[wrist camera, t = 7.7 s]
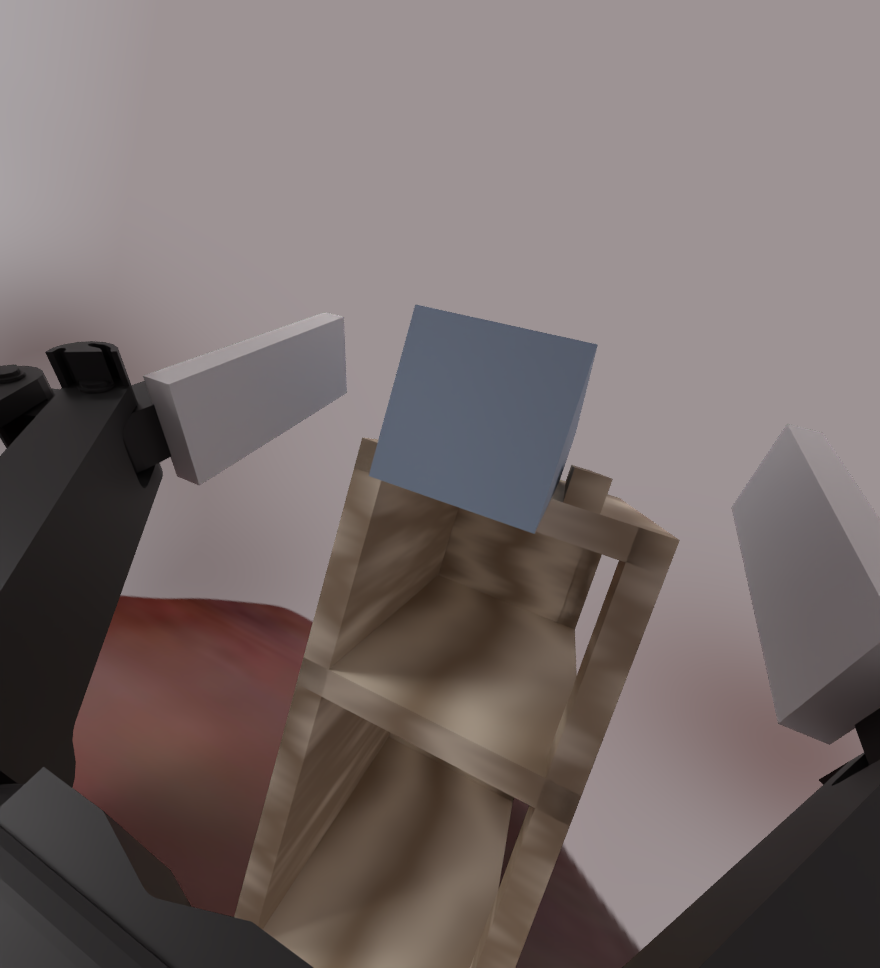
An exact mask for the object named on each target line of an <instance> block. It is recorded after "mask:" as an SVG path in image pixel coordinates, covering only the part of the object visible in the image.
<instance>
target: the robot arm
mask: <svg viewBox="0 0 880 968" xmlns="http://www.w3.org/2000/svg"><path fill="white" fill-rule="evenodd" d="M46 355H47V357H48V359H49V361H50V363H51V365H52V367H53V369H54V372H55V374H56V376H57V378H58V380H59V382H60V384H61V387H62V388H61V389H60V390H59V389H51V387H50V385H49V383H48V381H47V379H46V377H45V375H44V373H43V371H42V370H40V369H38V368H36V367H30V366H17V365H7V366H0V438H1V440H2V441H3V443H4V445H5V446H6V448H7V449H6V450H5V451H4V452H3V453H2V455H1V456H0V968H313V967H312V966H311V965H309V964H308V963H307V962H305V961H304V960H303V959H301V958H300V957H299V956H297V955H296V954H295V953H293V952H292V951H291V950H289V949H288V948H287V947H285V946H284V945H283V944H281V943H280V942H279V941H277V940H276V939H275V938H273V937H272V936H270V935H269V934H268V933H266V932H265V931H264V930H262V929H261V928H260V927H258V926H257V925H256V924H254V923H253V922H251V921H247V920H243V919H239V918H235V917H231V916H227V915H222V914H218V913H214V912H210V911H206V910H202V909H198V908H194V907H191V905H190V903H189V902H188V900H187V898H186V896H185V895H184V893H183V891H182V889H181V888H180V886H179V884H178V882H177V881H176V879H175V877H174V875H173V874H172V872H171V870H169V869H168V868H167V867H166V866H165V865H164V864H163V863H161V862H160V861H159V860H158V859H157V858H156V857H155V856H154V855H152V854H151V853H150V852H149V851H148V850H147V849H146V848H144V847H143V846H142V845H141V844H140V843H139V842H138V841H137V840H135V839H134V838H133V837H132V836H131V835H130V834H129V833H127V832H126V831H125V830H124V829H123V828H122V827H121V826H120V825H118V824H117V823H116V822H115V821H114V820H113V819H112V818H110V817H109V816H108V815H107V814H106V813H105V812H104V811H102V810H101V809H100V808H98V807H97V806H96V805H94V804H93V803H92V802H90V801H89V800H88V799H86V798H85V797H84V796H82V795H81V794H80V793H78V792H77V791H76V790H74V789H73V788H72V787H73V782H74V778H75V763H76V761H75V755H74V748H73V742H72V738H73V729H74V725H75V721H76V718H77V715H78V712H79V710H80V707H81V704H82V701H83V698H84V695H85V693H86V690H87V687H88V684H89V681H90V679H91V676H92V673H93V670H94V667H95V665H96V662H97V659H98V656H99V653H100V651H101V648H102V645H103V642H104V639H105V637H106V634H107V631H108V628H109V625H110V623H111V620H112V617H113V614H114V611H115V608H116V606H117V603H118V600H119V597H120V594H121V592H122V589H123V586H124V583H125V580H126V578H127V575H128V572H129V569H130V566H131V564H132V561H133V558H134V555H135V552H136V550H137V547H138V544H139V541H140V538H141V535H142V533H143V530H144V527H145V524H146V521H147V518H148V516H149V513H150V510H151V507H152V504H153V502H154V499H155V496H156V493H157V491H158V488H159V485H160V482H161V479H162V476H163V472H162V468H161V466H160V464H159V463H160V462H161V461H163V460H165V459H167V458H169V457H171V459H172V462H173V465H174V468H175V471H176V474H177V476H178V477H180V478H183V479H185V480H188V481H190V482H193V483H195V484H197V485H201V484H203V483H204V482H206V481H207V480H209V479H210V478H212V477H214V476H215V475H217V474H219V473H220V472H222V471H223V470H225V469H227V468H228V467H230V466H231V465H233V464H234V463H236V462H238V461H239V460H241V459H242V458H244V457H246V456H247V455H249V454H250V453H252V452H254V451H255V450H257V449H258V448H260V447H262V446H263V445H265V444H266V443H268V442H269V441H271V440H273V439H274V438H276V437H277V436H279V435H281V434H282V433H284V432H285V431H287V430H289V429H290V428H292V427H293V426H295V425H297V424H298V423H300V422H301V421H303V420H304V419H306V418H308V417H309V416H311V415H312V414H314V413H315V412H317V411H319V410H320V409H322V408H324V407H325V406H327V405H328V404H330V403H332V402H333V401H335V400H336V399H338V398H339V397H341V396H343V395H344V394H346V393H347V388H346V361H345V337H344V317H342V316H338V315H334V314H330V313H326V312H324V313H321V314H318V315H315V316H313V317H310V318H307V319H304V320H301V321H298V322H295V323H293V324H290V325H287V326H284V327H281V328H278V329H275V330H273V331H270V332H267V333H264V334H261V335H258V336H255V337H252V338H250V339H247V340H244V341H241V342H238V343H235V344H233V345H230V346H227V347H224V348H221V349H218V350H216V351H212V352H210V353H207V354H204V355H201V356H198V357H195V358H192V359H190V360H187V361H184V362H181V363H178V364H175V365H172V366H169V367H167V368H164V369H161V370H158V371H155V372H152V373H149V374H147V375H144V376H143V377H144V380H145V381H143V382H140V383H137V384H134V385H132V386H131V383H130V380H129V378H128V375H127V372H126V369H125V367H124V364H123V361H122V358H121V355H120V353H119V350H118V347H116V346H115V345H113V344H110V343H106V342H93V341H90V342H76V343H70V344H65V345H61V346H57V347H55V348H52V349H50V350H48V351H46ZM732 512H733V516H734V520H735V526H736V530H737V535H738V539H739V544H740V549H741V553H742V558H743V562H744V567H745V572H746V577H747V581H748V586H749V591H750V595H751V600H752V605H753V609H754V614H755V618H756V623H757V628H758V632H759V637H760V642H761V646H762V651H763V656H764V660H765V665H766V669H767V674H768V679H769V683H770V688H771V693H772V697H773V701H774V707H775V711H776V716H777V721H778V724H780V725H783V726H785V727H788V728H790V729H793V730H795V731H797V732H800V733H803V734H805V735H807V736H810V737H812V738H814V739H817V740H819V741H822V742H824V743H827V744H829V745H830V744H832V743H833V742H834V741H836V740H838V739H839V738H841V737H842V736H844V735H845V734H846V733H848V732H850V731H851V730H853V729H854V728H856V731H857V733H858V736H859V739H860V742H861V745H862V747H863V750H864V753H862V754H861V755H859V756H858V757H856V758H854V759H852V760H851V761H849V762H847V763H846V764H844V765H842V766H841V767H839V768H838V769H836V770H834V771H833V772H831V773H830V774H828V775H826V776H824V777H823V778H821V779H819V781H820V782H821V783H822V784H823V786H822V787H821V788H819V789H818V790H817V791H816V792H815V793H814V794H813V795H812V796H811V797H809V798H808V799H807V800H806V801H805V802H804V803H803V804H802V805H801V806H800V807H798V808H797V809H796V810H795V811H794V812H793V813H792V814H791V815H790V816H789V817H787V819H785V820H784V821H783V822H782V823H781V824H780V825H779V826H778V827H776V828H775V829H774V830H773V831H772V832H771V833H770V834H769V835H768V836H767V837H765V838H764V839H763V840H762V841H761V842H760V843H759V844H758V845H757V846H756V847H754V848H753V849H752V850H751V851H750V852H749V853H748V854H747V855H746V856H745V857H743V858H742V859H741V860H740V861H739V862H738V863H737V864H736V865H735V866H734V867H733V868H731V869H730V870H729V871H728V872H727V873H726V874H725V875H724V876H723V877H721V878H720V879H719V880H718V881H717V882H716V883H715V884H714V885H713V886H712V887H710V888H709V889H708V890H707V891H706V892H705V893H704V894H703V895H702V896H700V897H699V898H698V899H697V900H696V901H695V902H694V903H693V904H692V905H691V906H689V908H687V909H686V910H685V911H684V912H683V913H682V914H681V915H680V916H679V917H677V918H676V919H675V920H674V921H673V922H672V923H671V924H670V925H669V926H667V927H666V928H665V929H664V930H663V931H662V932H661V933H660V934H659V935H658V936H657V937H655V938H654V939H653V940H652V941H651V942H650V943H649V944H648V945H647V946H645V947H644V948H643V949H642V950H641V951H640V952H639V953H638V954H637V955H636V956H634V957H633V958H632V959H631V960H630V961H629V962H628V963H627V964H626V965H625V966H623V967H622V968H880V519H879V517H878V516H877V514H876V513H875V511H874V510H873V508H872V507H871V505H870V504H869V502H868V501H867V499H866V498H865V496H864V495H863V493H862V492H861V490H860V488H859V487H858V485H857V484H856V483H855V481H854V479H853V478H852V476H851V475H850V474H849V472H848V470H847V469H846V467H845V466H844V464H843V463H842V462H841V460H840V458H839V457H838V456H837V454H836V452H835V451H834V449H833V448H832V446H831V445H830V443H829V442H828V441H827V439H826V437H825V436H824V434H823V433H822V432H818V431H815V430H811V429H806V428H802V427H798V426H794V425H790V424H787V425H786V427H785V428H784V429H783V431H782V432H781V434H780V435H779V437H778V439H777V440H776V441H775V443H774V444H773V446H772V448H771V449H770V451H769V452H768V454H767V455H766V456H765V458H764V459H763V461H762V463H761V464H760V465H759V467H758V469H757V470H756V472H755V473H754V475H753V476H752V477H751V479H750V480H749V482H748V484H747V485H746V487H745V488H744V490H743V491H742V493H741V494H740V496H739V497H738V499H737V500H736V502H735V503H734V505H733V506H732Z"/></svg>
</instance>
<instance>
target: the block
mask: <svg viewBox="0 0 880 968" xmlns="http://www.w3.org/2000/svg"><path fill="white" fill-rule="evenodd" d="M596 348H597V344H592V343H587V342H583V341H579V340H574V339H570V338H565V337H561V336H556V335H551V334H547V333H542V332H538V331H533V330H528V329H524V328H520V327H515V326H511V325H506V324H502V323H497V322H493V321H488V320H483V319H479V318H474V317H470V316H465V315H460V314H456V313H452V312H447V311H442V310H438V309H433V308H429V307H424V306H419V305H415V308H414V312H413V315H412V319H411V323H410V327H409V330H408V334H407V337H406V341H405V345H404V348H403V352H402V356H401V359H400V363H399V367H398V370H397V374H396V378H395V382H394V385H393V389H392V392H391V396H390V400H389V403H388V407H387V411H386V414H385V418H384V422H383V425H382V429H381V432H380V436H379V440H378V443H377V447H376V451H375V454H374V458H373V462H372V465H371V469H370V473H369V476H370V477H373V478H376V479H379V480H381V481H384V482H387V483H390V484H393V485H396V486H399V487H402V488H404V489H407V490H410V491H413V492H416V493H419V494H422V495H424V496H427V497H430V498H433V499H436V500H439V501H442V502H444V503H447V504H450V505H453V506H456V507H459V508H462V509H464V510H467V511H470V512H473V513H476V514H479V515H482V516H485V517H487V518H490V519H493V520H496V521H499V522H502V523H505V524H507V525H510V526H513V527H516V528H519V529H522V530H525V531H527V532H530V533H533V534H535V531H536V529H537V527H538V525H539V523H540V521H541V519H542V517H543V515H544V512H545V510H546V508H547V506H548V504H549V502H550V500H551V498H552V496H553V494H554V491H555V489H556V487H557V485H558V483H559V481H560V478H561V475H562V471H563V469H564V466H565V463H566V460H567V457H568V454H569V451H570V448H571V445H572V442H573V439H574V436H575V433H576V429H577V425H578V421H579V417H580V413H581V409H582V405H583V401H584V397H585V393H586V389H587V385H588V381H589V377H590V373H591V369H592V365H593V361H594V357H595V353H596Z"/></svg>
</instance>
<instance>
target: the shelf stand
mask: <svg viewBox="0 0 880 968" xmlns="http://www.w3.org/2000/svg"><path fill="white" fill-rule="evenodd" d="M377 443H378V440H377V439H369V438H362V441H361V445H360V449H359V452H358V456H357V460H356V464H355V467H354V471H353V475H352V478H351V482H350V486H349V490H348V494H347V497H346V501H345V505H344V508H343V512H342V516H341V520H340V523H339V527H338V531H337V534H336V538H335V542H334V546H333V549H332V553H331V557H330V561H329V565H328V568H327V572H326V576H325V579H324V583H323V587H322V591H321V594H320V598H319V602H318V606H317V609H316V613H315V617H314V620H313V624H312V628H311V632H310V635H309V639H308V643H307V647H306V650H305V654H304V658H303V662H302V665H301V669H300V673H299V677H298V680H297V684H296V688H295V692H294V695H293V699H292V703H291V706H290V710H289V714H288V718H287V721H286V725H285V729H284V733H283V736H282V740H281V744H280V748H279V751H278V755H277V759H276V763H275V766H274V770H273V774H272V778H271V781H270V785H269V789H268V792H267V796H266V800H265V804H264V807H263V811H262V815H261V819H260V822H259V826H258V830H257V834H256V837H255V841H254V845H253V849H252V852H251V856H250V860H249V864H248V867H247V871H246V875H245V878H244V882H243V886H242V890H241V893H240V897H239V901H238V905H237V908H236V912H235V916H234V917H235V918H239V919H243V920H247V921H251V922H253V923H254V924H256V925H257V926H258V927H260V928H261V929H262V930H264V931H265V932H266V933H268V934H269V935H270V936H272V937H273V938H275V939H276V940H277V941H279V942H280V943H281V944H283V945H284V946H285V947H287V948H288V949H289V950H291V951H292V952H293V953H295V954H296V955H297V956H299V957H300V958H301V959H303V960H304V961H305V962H307V963H308V964H309V965H311V966H312V967H313V968H515V967H516V964H517V962H518V959H519V957H520V954H521V951H522V949H523V946H524V944H525V941H526V938H527V936H528V933H529V931H530V928H531V925H532V923H533V920H534V918H535V915H536V912H537V910H538V907H539V905H540V902H541V899H542V897H543V894H544V892H545V889H546V886H547V884H548V881H549V879H550V876H551V873H552V871H553V868H554V866H555V863H556V860H557V858H558V855H559V853H560V850H561V847H562V845H563V842H564V839H565V837H566V834H567V832H568V829H569V826H570V824H571V821H572V819H573V816H574V813H575V811H576V808H577V806H578V803H579V800H580V798H581V795H582V793H583V790H584V787H585V785H586V782H587V780H588V777H589V774H590V772H591V769H592V767H593V764H594V761H595V758H596V756H597V753H598V751H599V748H600V746H601V743H602V741H603V738H604V735H605V733H606V730H607V728H608V725H609V722H610V720H611V717H612V714H613V712H614V709H615V707H616V704H617V702H618V699H619V696H620V694H621V691H622V689H623V686H624V683H625V681H626V678H627V676H628V673H629V670H630V668H631V665H632V663H633V660H634V657H635V655H636V652H637V650H638V647H639V644H640V642H641V639H642V637H643V634H644V631H645V629H646V626H647V623H648V621H649V618H650V616H651V613H652V610H653V608H654V605H655V603H656V600H657V598H658V595H659V592H660V590H661V587H662V585H663V582H664V579H665V577H666V574H667V572H668V569H669V566H670V564H671V561H672V559H673V556H674V553H675V551H676V548H677V546H678V543H679V540H678V539H677V538H675V537H674V536H673V535H671V534H670V533H668V532H667V531H665V530H664V529H662V528H661V527H660V526H658V525H657V524H656V523H654V522H653V521H651V520H650V519H648V518H647V517H645V516H644V515H643V514H641V513H639V512H638V511H637V510H635V509H634V508H633V507H631V506H630V505H628V504H627V503H625V502H624V501H623V500H621V499H620V498H617V497H614V496H610V495H607V494H608V491H609V488H610V485H611V482H612V479H611V478H609V477H606V476H603V475H601V474H598V473H595V472H592V471H590V470H586V469H583V468H580V467H576V466H573V465H571V468H570V471H569V474H568V476H567V479H566V481H562V480H560V481H559V483H558V485H557V487H556V489H555V491H554V494H553V496H552V498H551V500H550V502H549V504H548V506H547V508H546V510H545V512H544V515H543V517H542V519H541V521H540V523H539V525H538V527H537V529H536V531H535V534H533V533H530V532H527V531H525V530H522V529H519V528H516V527H513V526H510V525H507V524H505V523H502V522H499V521H496V520H493V519H490V518H487V517H485V516H482V515H479V514H476V513H473V512H470V511H467V510H464V509H462V508H459V507H456V506H453V505H450V504H447V503H444V502H442V501H439V500H436V499H433V498H430V497H427V496H424V495H422V494H419V493H416V492H413V491H410V490H407V489H404V488H402V487H399V486H396V485H393V484H390V483H387V482H384V481H381V480H379V479H376V478H373V477H370V476H369V473H370V469H371V465H372V462H373V458H374V454H375V451H376V447H377ZM602 554H603V555H605V556H608V557H611V558H614V559H617V560H619V562H618V565H617V568H616V570H615V573H614V576H613V579H612V582H611V584H610V587H609V590H608V592H607V595H606V598H605V600H604V603H603V606H602V609H601V611H600V614H599V617H598V620H597V623H596V626H595V628H594V630H593V633H592V636H591V639H590V641H589V644H588V647H587V650H586V653H585V655H584V658H583V660H582V663H581V666H580V669H579V671H578V674H577V676H576V652H575V627H576V625H577V622H578V619H579V616H580V613H581V611H582V608H583V605H584V602H585V600H586V597H587V594H588V591H589V588H590V585H591V583H592V580H593V577H594V575H595V572H596V569H597V566H598V563H599V561H600V558H601V555H602ZM514 798H516V799H518V800H520V801H522V802H524V803H526V804H528V805H529V808H528V811H527V813H526V816H525V819H524V821H523V824H522V827H521V830H520V832H519V835H518V838H517V841H516V843H515V846H514V849H513V851H512V854H511V857H510V860H509V862H508V865H507V868H506V871H505V873H504V876H503V879H502V881H501V884H500V887H499V882H500V876H501V870H502V864H503V858H504V852H505V846H506V840H507V833H508V827H509V821H510V815H511V809H512V803H513V800H514ZM498 888H499V890H498Z"/></svg>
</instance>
